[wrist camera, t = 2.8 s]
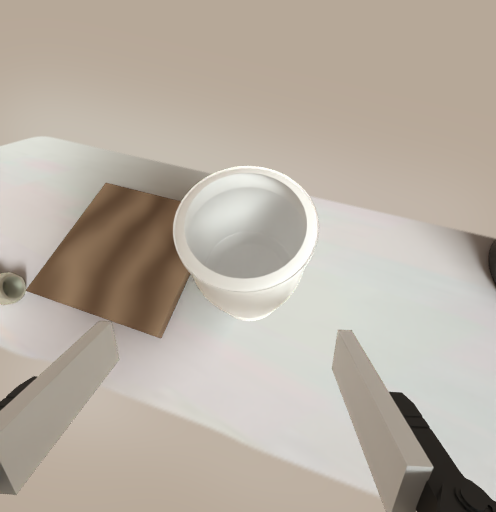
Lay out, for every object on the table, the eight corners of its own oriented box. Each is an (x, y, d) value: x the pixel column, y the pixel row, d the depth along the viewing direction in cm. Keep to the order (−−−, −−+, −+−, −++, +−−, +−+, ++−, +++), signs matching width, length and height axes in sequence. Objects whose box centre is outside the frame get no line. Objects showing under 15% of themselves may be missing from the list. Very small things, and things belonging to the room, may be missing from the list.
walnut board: (216, 216, 35) (214, 210, 34) (161, 338, 28) (156, 336, 26) (111, 189, 38) (105, 182, 36) (35, 294, 30) (25, 290, 29)
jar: (216, 247, 33) (189, 160, 19) (291, 253, 32) (318, 168, 18) (201, 326, 28) (152, 285, 15) (289, 335, 27) (322, 300, 14)
